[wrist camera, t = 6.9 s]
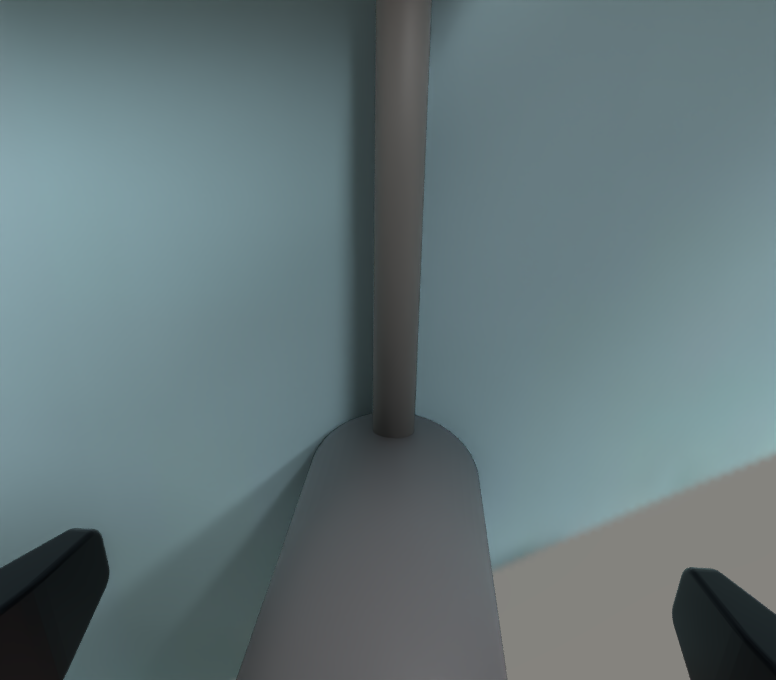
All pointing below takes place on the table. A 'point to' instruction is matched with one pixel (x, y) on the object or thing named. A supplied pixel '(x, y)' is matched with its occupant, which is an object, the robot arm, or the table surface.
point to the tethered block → (387, 463)
